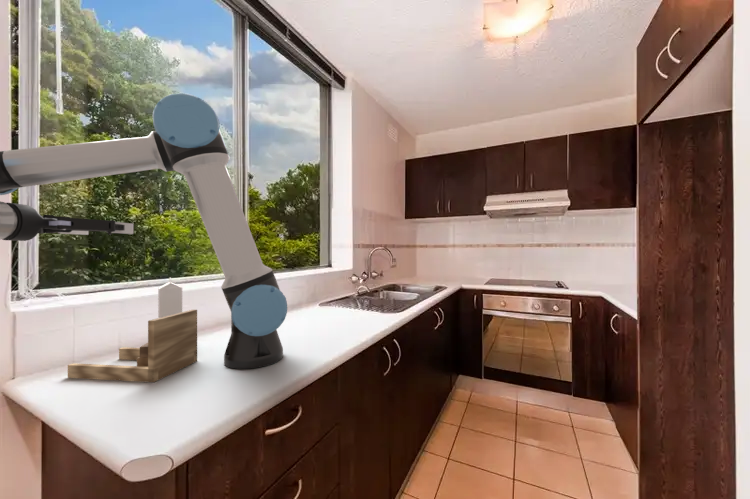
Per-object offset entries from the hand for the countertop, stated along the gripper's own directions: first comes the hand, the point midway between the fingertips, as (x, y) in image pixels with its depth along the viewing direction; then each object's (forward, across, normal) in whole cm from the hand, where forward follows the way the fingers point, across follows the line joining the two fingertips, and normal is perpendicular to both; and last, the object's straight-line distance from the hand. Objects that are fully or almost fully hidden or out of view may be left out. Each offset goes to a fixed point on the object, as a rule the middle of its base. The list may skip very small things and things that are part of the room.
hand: (109, 229), depth 82 cm
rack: (-1, +10, -36) cm, 37 cm away
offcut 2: (-2, +16, -34) cm, 38 cm away
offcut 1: (-2, +16, -32) cm, 35 cm away
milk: (+16, +4, -36) cm, 40 cm away
